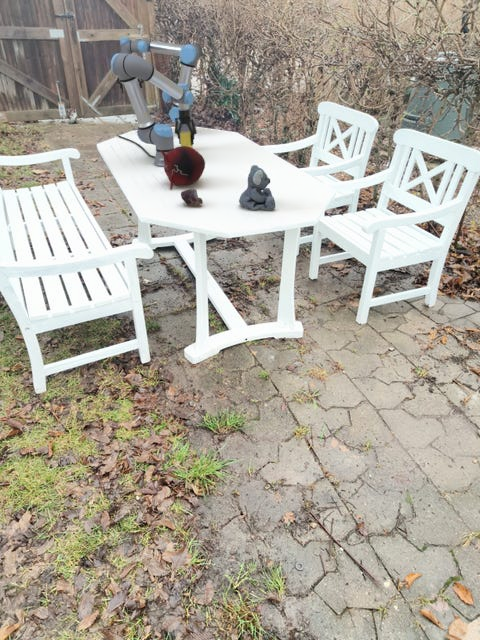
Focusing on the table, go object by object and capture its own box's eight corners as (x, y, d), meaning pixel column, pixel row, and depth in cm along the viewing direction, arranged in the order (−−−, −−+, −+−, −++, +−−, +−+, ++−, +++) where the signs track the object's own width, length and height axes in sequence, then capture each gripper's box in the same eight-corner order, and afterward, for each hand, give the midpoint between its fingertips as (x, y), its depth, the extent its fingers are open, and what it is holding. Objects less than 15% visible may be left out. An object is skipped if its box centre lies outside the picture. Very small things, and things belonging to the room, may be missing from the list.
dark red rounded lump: (162, 151, 264) (156, 150, 240) (201, 143, 263) (199, 140, 240) (172, 188, 271) (167, 190, 247) (209, 180, 270) (208, 181, 246)
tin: (183, 150, 316) (182, 134, 310) (179, 148, 322) (177, 132, 316) (194, 149, 319) (193, 133, 313) (190, 146, 325) (188, 130, 319)
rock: (196, 202, 238) (178, 205, 233) (194, 185, 234) (176, 188, 230) (205, 205, 228) (187, 208, 224) (203, 188, 224) (185, 191, 220)
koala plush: (276, 211, 223) (277, 171, 212) (240, 212, 222) (240, 172, 211) (271, 199, 237) (272, 161, 226) (237, 200, 236) (237, 162, 225)
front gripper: (200, 109, 306) (202, 143, 319) (172, 107, 311) (175, 141, 324) (196, 111, 300) (198, 146, 313) (167, 109, 305) (170, 144, 318)
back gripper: (110, 62, 332) (115, 94, 344) (144, 61, 335) (147, 93, 347) (111, 61, 339) (116, 92, 351) (144, 61, 341) (148, 92, 353)
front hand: (186, 144), depth 319 cm, fingers closed on tin, 8 cm apart
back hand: (131, 93), depth 349 cm, fingers open, 13 cm apart
